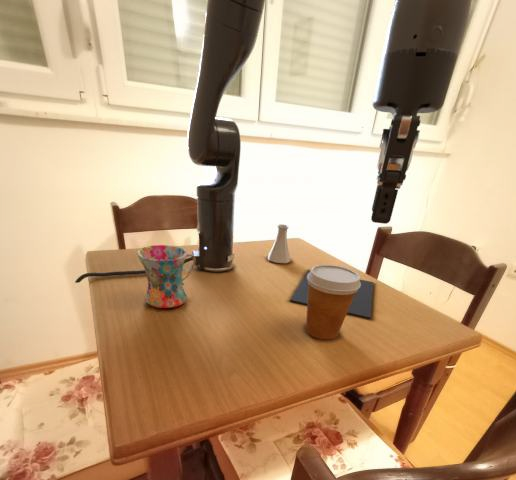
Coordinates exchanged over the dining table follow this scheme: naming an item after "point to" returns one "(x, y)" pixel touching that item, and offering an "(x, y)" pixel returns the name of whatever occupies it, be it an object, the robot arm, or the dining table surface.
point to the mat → (358, 306)
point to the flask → (280, 247)
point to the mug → (164, 274)
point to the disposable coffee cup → (329, 299)
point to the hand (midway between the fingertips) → (379, 217)
